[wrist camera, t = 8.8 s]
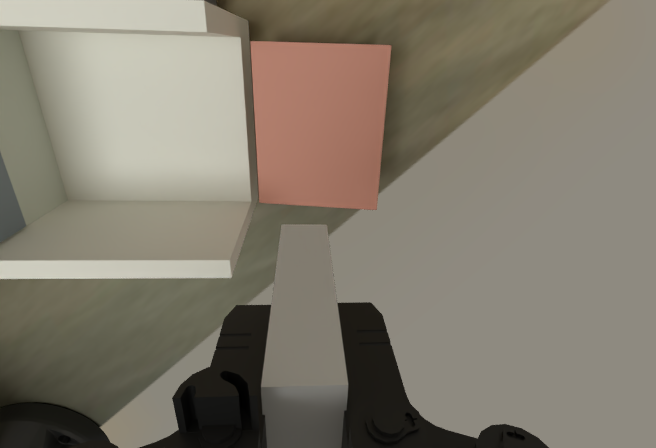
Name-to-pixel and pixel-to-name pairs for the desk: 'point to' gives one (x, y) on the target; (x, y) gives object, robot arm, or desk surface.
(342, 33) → the desk surface
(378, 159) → the panel
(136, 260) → the truck
